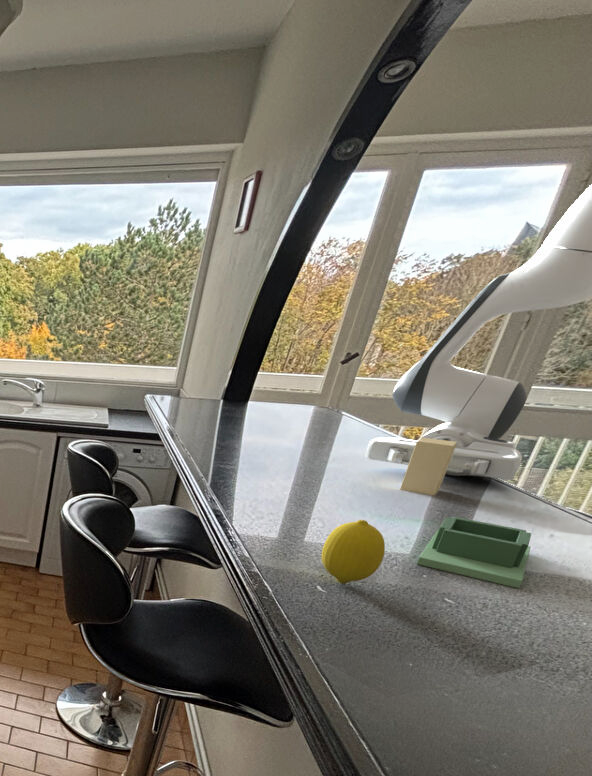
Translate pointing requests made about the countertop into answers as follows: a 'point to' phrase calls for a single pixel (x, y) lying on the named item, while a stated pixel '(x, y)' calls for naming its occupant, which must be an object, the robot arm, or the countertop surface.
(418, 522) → the countertop surface
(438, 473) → the cream pad
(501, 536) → the base holder
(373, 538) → the lemon
